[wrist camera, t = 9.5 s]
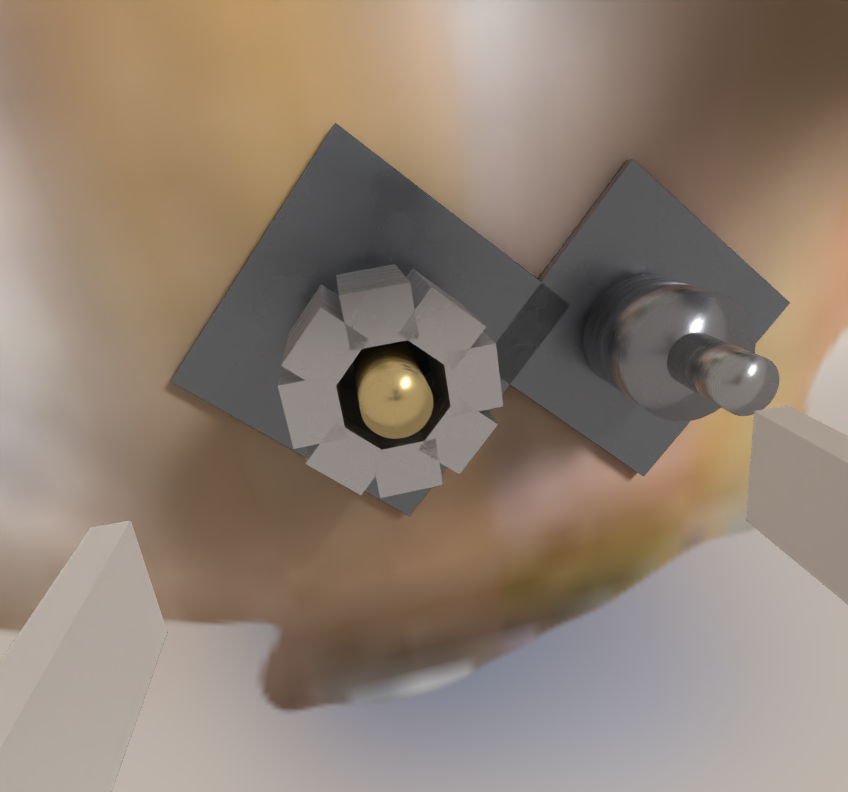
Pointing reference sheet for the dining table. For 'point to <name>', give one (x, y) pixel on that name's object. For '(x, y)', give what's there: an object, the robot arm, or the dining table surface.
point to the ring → (339, 408)
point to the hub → (318, 265)
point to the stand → (646, 325)
